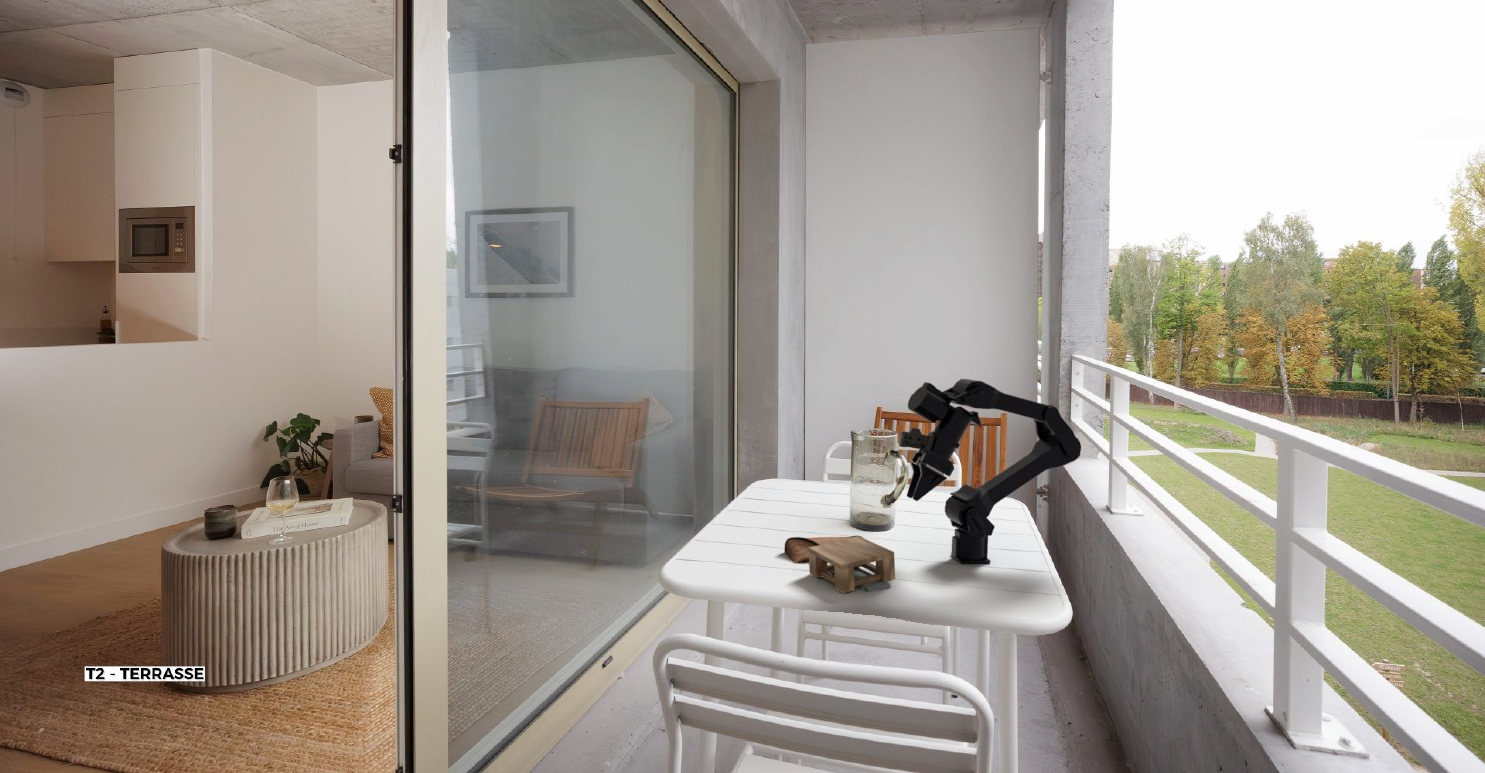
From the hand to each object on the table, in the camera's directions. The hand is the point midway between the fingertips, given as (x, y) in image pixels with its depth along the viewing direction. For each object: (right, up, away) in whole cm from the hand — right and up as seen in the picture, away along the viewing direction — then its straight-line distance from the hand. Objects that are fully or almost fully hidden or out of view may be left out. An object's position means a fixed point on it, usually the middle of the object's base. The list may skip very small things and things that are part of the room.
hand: (911, 498), depth 161 cm
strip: (-12, -15, -8) cm, 21 cm away
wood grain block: (-9, -11, -7) cm, 15 cm away
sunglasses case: (-17, -14, +6) cm, 22 cm away
